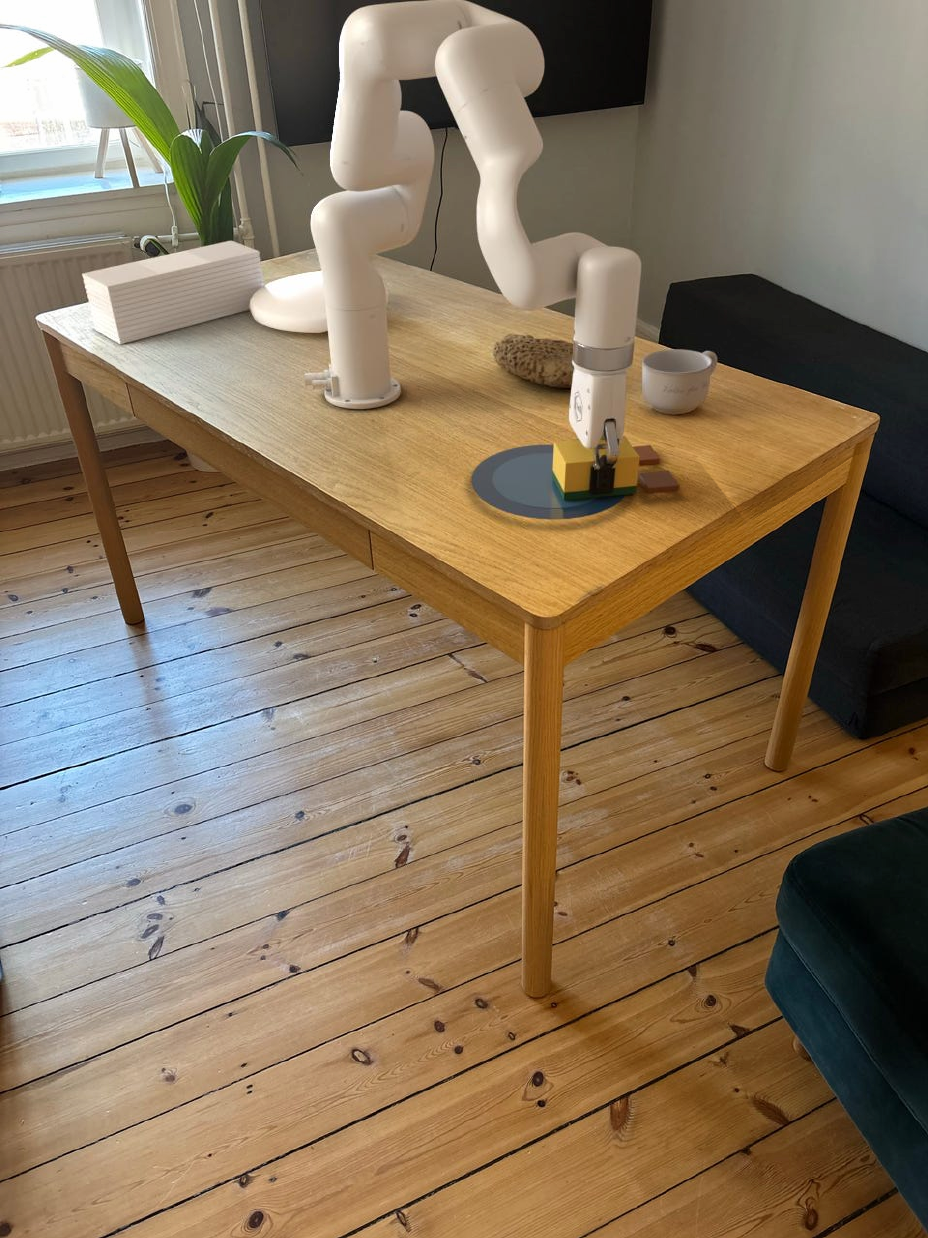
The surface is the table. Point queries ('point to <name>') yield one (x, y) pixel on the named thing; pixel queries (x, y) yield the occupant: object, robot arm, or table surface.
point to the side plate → (530, 486)
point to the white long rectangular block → (173, 290)
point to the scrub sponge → (576, 465)
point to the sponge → (536, 359)
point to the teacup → (677, 379)
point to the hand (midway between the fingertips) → (593, 479)
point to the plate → (294, 304)
